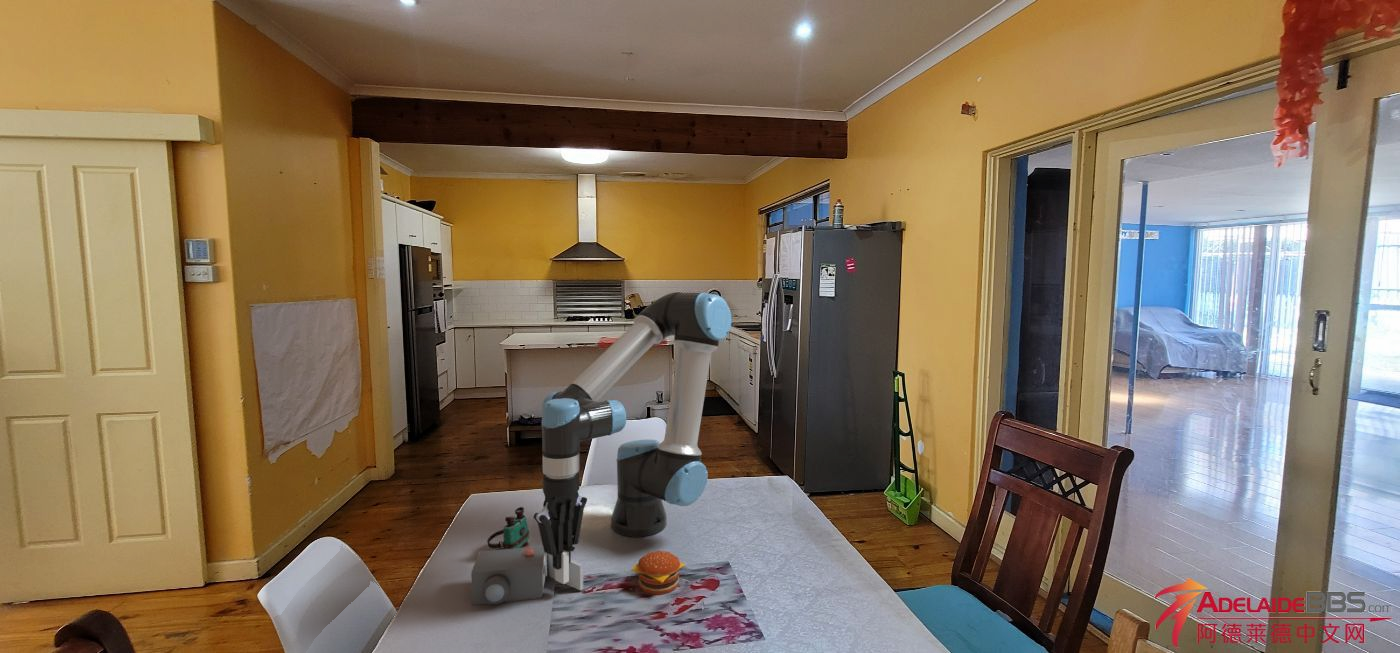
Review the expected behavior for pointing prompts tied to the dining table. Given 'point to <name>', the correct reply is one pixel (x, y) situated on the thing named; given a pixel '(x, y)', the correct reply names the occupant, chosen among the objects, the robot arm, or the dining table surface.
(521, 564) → the camera body
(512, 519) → the binoculars
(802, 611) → the dining table surface
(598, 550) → the dining table surface
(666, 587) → the hamburger
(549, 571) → the side door
